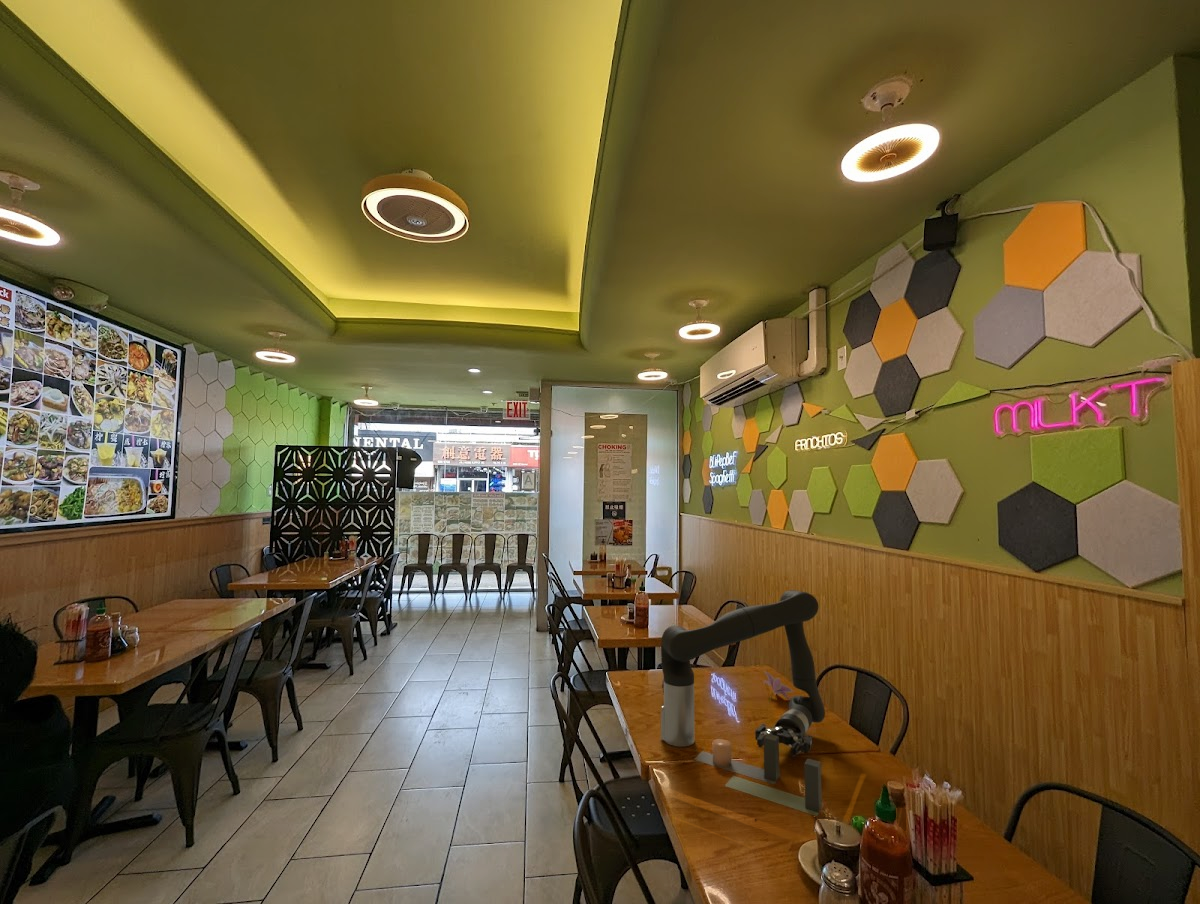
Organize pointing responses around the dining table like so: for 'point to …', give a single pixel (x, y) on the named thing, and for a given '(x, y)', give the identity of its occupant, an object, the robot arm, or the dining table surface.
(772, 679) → the lily
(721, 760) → the tan round cylinder
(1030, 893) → the dining table surface
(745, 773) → the grey l-shaped bracket
